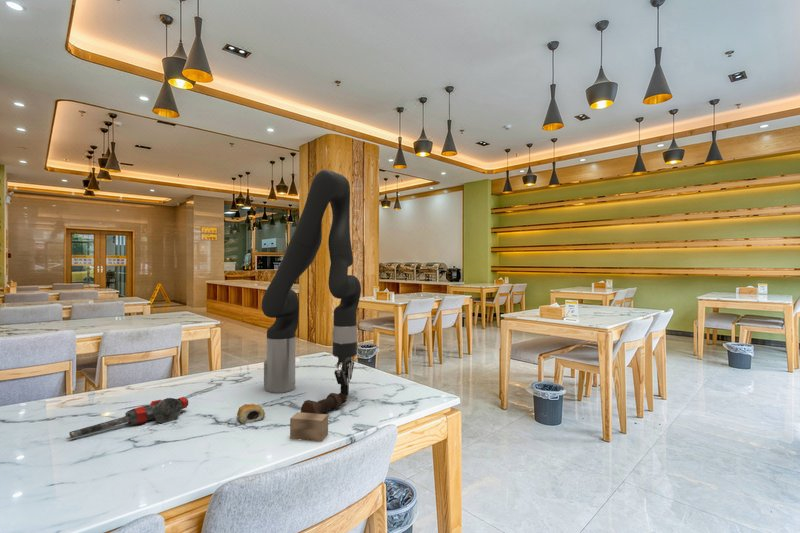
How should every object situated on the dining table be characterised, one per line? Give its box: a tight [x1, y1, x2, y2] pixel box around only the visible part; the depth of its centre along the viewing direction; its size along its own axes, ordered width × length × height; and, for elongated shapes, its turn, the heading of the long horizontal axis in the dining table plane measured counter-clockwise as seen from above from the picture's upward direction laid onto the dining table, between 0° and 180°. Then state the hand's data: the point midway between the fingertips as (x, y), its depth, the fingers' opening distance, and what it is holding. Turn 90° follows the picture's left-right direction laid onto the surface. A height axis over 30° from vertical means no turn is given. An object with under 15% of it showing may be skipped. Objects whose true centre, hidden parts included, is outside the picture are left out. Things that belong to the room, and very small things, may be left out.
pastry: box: [236, 403, 266, 424], centre depth 108 cm, size 9×7×4 cm
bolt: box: [300, 392, 348, 414], centre depth 112 cm, size 6×5×15 cm
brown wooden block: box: [289, 411, 329, 443], centre depth 95 cm, size 8×4×5 cm, turn 80°
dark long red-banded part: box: [68, 396, 189, 439], centre depth 104 cm, size 6×26×15 cm
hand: (344, 396), depth 122 cm, fingers closed
